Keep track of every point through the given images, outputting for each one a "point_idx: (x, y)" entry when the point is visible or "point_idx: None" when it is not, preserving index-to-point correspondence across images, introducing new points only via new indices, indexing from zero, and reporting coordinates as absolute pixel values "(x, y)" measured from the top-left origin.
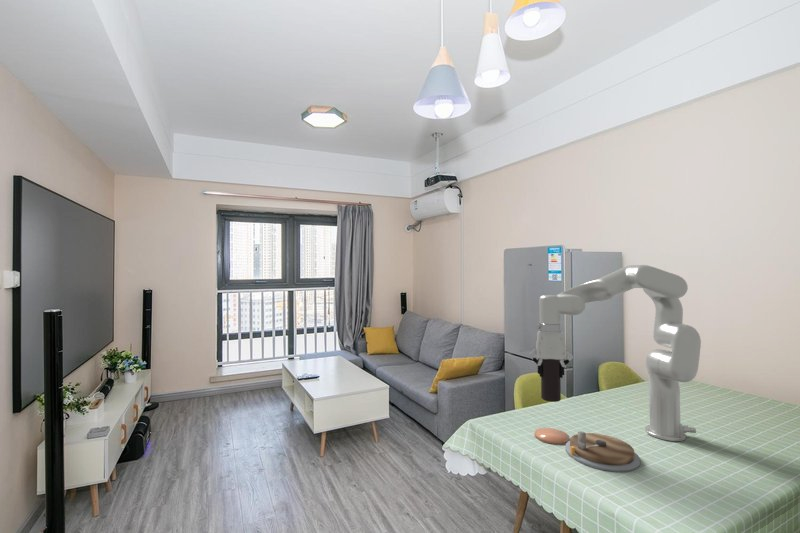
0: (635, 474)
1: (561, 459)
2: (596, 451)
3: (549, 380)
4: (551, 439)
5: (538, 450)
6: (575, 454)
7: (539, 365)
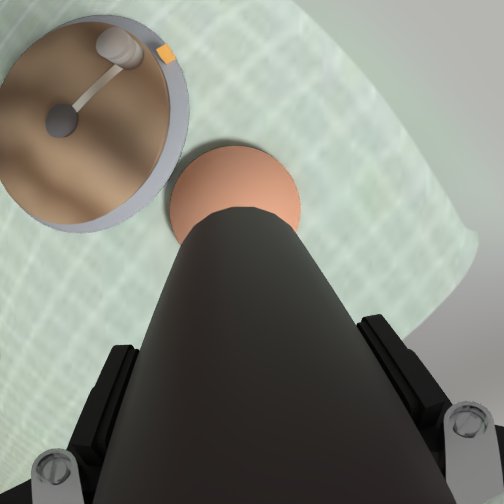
0: (25, 42)
1: (210, 32)
2: (87, 54)
3: (271, 260)
4: (237, 160)
5: (286, 75)
6: (159, 60)
7: (454, 410)
